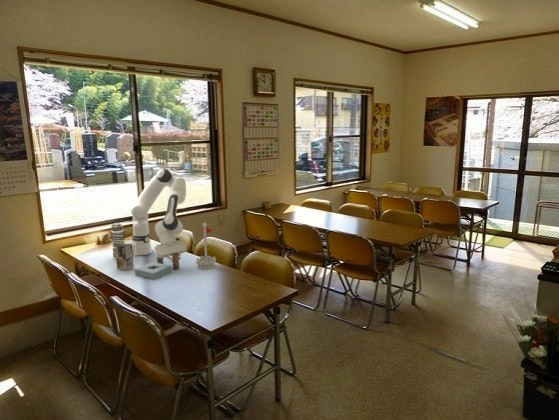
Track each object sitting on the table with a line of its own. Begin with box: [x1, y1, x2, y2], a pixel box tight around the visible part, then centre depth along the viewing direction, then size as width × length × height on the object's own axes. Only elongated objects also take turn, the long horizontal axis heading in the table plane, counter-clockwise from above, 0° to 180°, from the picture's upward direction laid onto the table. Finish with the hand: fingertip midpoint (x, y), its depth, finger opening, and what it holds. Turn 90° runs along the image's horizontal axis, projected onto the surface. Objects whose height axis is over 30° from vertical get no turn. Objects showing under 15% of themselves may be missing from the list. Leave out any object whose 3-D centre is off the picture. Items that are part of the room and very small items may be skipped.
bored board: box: [134, 261, 173, 280], centre depth 259 cm, size 16×16×4 cm
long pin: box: [171, 252, 180, 271], centre depth 266 cm, size 4×4×11 cm
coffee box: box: [115, 242, 134, 271], centre depth 268 cm, size 9×6×16 cm
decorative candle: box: [110, 222, 126, 260], centre depth 290 cm, size 9×9×25 cm
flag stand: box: [195, 222, 217, 270], centre depth 270 cm, size 13×13×30 cm
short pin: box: [156, 255, 164, 264], centre depth 273 cm, size 4×4×6 cm
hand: (176, 260), depth 265 cm, fingers closed on long pin, 4 cm apart
